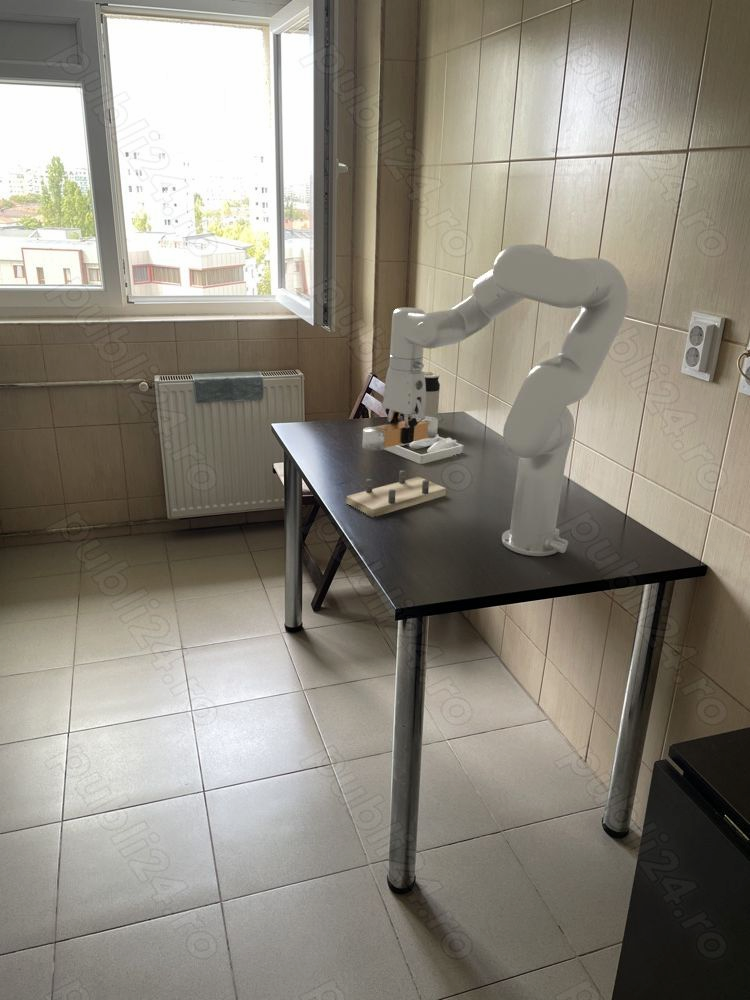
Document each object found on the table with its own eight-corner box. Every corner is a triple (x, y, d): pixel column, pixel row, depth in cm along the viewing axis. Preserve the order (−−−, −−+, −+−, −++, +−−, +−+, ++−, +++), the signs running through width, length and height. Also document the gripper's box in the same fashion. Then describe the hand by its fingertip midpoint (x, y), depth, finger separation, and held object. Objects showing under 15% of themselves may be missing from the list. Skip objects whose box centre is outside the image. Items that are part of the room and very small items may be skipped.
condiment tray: (462, 453, 216) (463, 445, 215) (420, 464, 206) (421, 455, 205) (424, 439, 227) (425, 431, 226) (383, 449, 217) (383, 440, 216)
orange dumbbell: (441, 436, 179) (442, 420, 178) (372, 451, 165) (373, 435, 164) (426, 430, 183) (427, 415, 181) (357, 445, 169) (358, 429, 167)
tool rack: (445, 495, 184) (446, 477, 182) (372, 517, 169) (373, 497, 168) (417, 483, 191) (419, 465, 189) (345, 503, 176) (346, 484, 175)
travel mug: (410, 430, 236) (414, 375, 229) (413, 424, 243) (417, 370, 236) (435, 432, 235) (439, 377, 228) (437, 426, 242) (441, 372, 235)
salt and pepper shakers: (429, 442, 226) (401, 448, 220) (430, 429, 224) (402, 435, 218) (455, 453, 217) (427, 460, 211) (456, 439, 216) (428, 446, 209)
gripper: (443, 369, 164) (436, 447, 171) (393, 355, 175) (389, 428, 182) (419, 373, 159) (413, 452, 166) (369, 358, 170) (366, 433, 177)
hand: (400, 439), depth 174 cm, fingers closed on orange dumbbell, 4 cm apart
